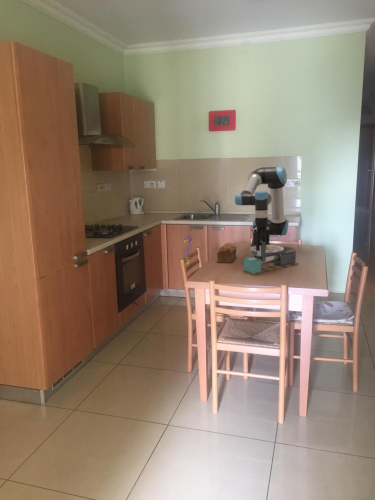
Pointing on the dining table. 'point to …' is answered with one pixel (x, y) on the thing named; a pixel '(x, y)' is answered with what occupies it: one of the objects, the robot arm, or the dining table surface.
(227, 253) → the bread
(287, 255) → the dark grey block
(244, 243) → the dining table surface
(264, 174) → the robot arm
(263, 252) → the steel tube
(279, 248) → the ramen bowl
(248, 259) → the teal block
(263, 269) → the walnut board
